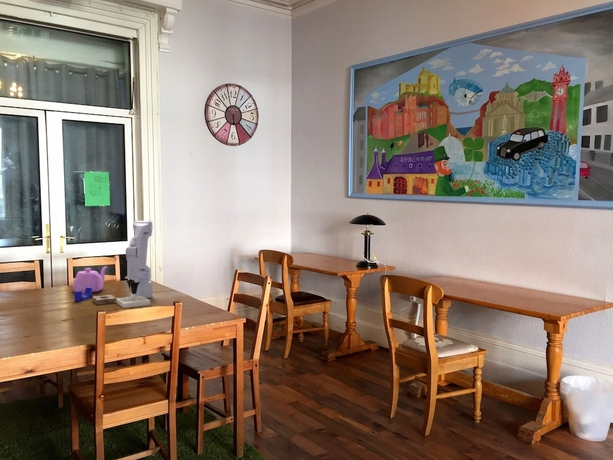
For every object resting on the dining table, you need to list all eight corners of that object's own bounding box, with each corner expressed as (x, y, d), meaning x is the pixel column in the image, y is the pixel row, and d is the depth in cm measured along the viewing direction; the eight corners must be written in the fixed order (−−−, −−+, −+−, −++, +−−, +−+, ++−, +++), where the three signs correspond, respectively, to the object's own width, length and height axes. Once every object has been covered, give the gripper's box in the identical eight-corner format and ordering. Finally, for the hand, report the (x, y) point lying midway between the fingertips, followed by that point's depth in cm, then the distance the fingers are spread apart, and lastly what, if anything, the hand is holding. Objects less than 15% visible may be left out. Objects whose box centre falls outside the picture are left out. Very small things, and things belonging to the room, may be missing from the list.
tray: (142, 300, 300) (142, 295, 300) (150, 305, 289) (150, 300, 288) (116, 302, 292) (116, 298, 292) (123, 308, 281) (123, 303, 280)
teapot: (118, 290, 327) (118, 267, 326) (87, 295, 309) (86, 272, 308) (95, 285, 339) (95, 264, 338) (64, 291, 321) (63, 268, 319)
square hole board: (111, 299, 301) (111, 294, 301) (116, 302, 293) (116, 298, 293) (92, 301, 296) (92, 296, 296) (96, 304, 288) (96, 300, 287)
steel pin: (134, 299, 292) (134, 282, 291) (135, 300, 289) (135, 283, 289) (129, 299, 291) (129, 283, 290) (130, 300, 288) (130, 283, 288)
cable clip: (84, 297, 306) (84, 286, 306) (92, 297, 305) (91, 287, 305) (72, 301, 294) (71, 290, 294) (79, 302, 294) (79, 291, 293)
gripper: (121, 267, 292) (121, 291, 294) (129, 271, 281) (129, 296, 282) (134, 266, 296) (134, 290, 298) (142, 270, 284) (142, 295, 286)
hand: (133, 293), depth 290 cm, fingers closed on steel pin, 3 cm apart
